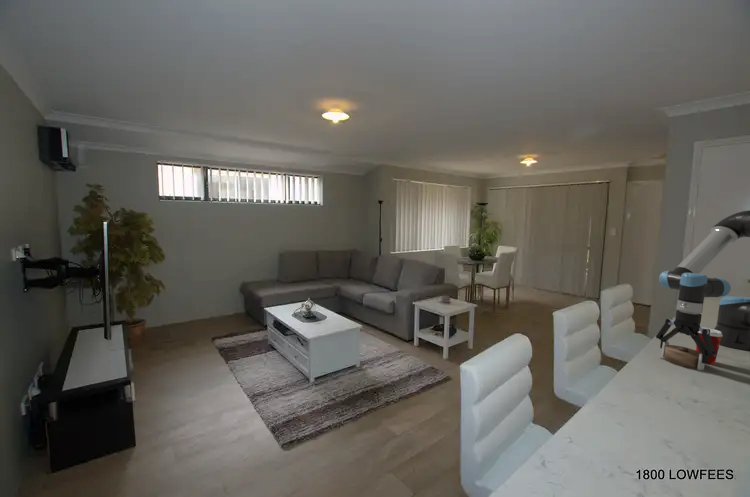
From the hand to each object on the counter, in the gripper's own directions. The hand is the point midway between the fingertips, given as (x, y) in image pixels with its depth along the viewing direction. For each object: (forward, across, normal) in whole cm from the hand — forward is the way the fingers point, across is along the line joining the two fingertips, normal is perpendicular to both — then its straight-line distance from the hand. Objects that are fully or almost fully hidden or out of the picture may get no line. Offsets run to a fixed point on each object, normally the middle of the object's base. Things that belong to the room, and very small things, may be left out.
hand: (681, 363), depth 136 cm
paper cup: (0, +2, +11) cm, 11 cm away
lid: (0, 0, 0) cm, 0 cm away
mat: (0, 0, 0) cm, 0 cm away
